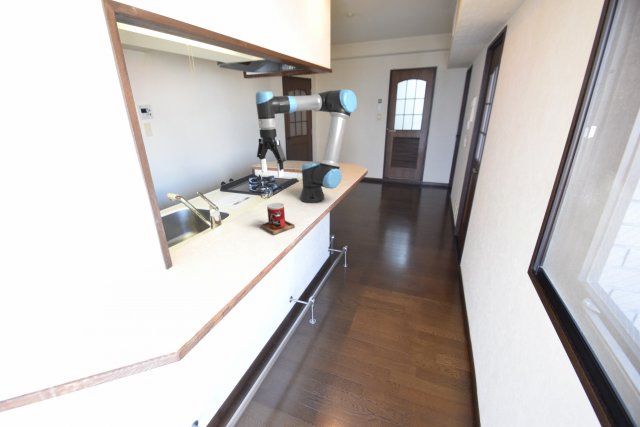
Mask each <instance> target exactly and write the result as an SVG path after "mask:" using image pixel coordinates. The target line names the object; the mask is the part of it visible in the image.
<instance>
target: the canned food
mask: <svg viewBox="0 0 640 427" xmlns="http://www.w3.org/2000/svg"><path fill="white" fill-rule="evenodd" d="M285 214H286V213H285V206H284V203H283V202H273V203H269V204H268V205H267V218H268V219H267V220H268V221H267V222H269V227H270V228H271V229H274V230H278V229H282V228H284V227H285V221H286V217H285V216H286V215H285Z"/></svg>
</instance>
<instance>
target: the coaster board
mask: <svg viewBox="0 0 640 427" xmlns="http://www.w3.org/2000/svg"><path fill="white" fill-rule="evenodd" d="M259 228H260V229H262V230H264V231H265V232H267V233H268V234H270V235H273V236H277V235H279V234H282V233H284V232H287V231H289V230H293V229H295V224H294V223H291V222H290V221H287V220H285V227H284V228H282V229H278V230H274V229H271V228H270V227H269V221H267V222H263V223H260V224H259Z"/></svg>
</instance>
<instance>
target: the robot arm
mask: <svg viewBox="0 0 640 427" xmlns="http://www.w3.org/2000/svg"><path fill="white" fill-rule="evenodd" d="M357 100H358V99H357V96H356V94H355V93H354V91H353V90H351V89H346V88H345V89H344V88H343V89H336V90H335V89H334V90H327V91H322V92H315V93H313V94H311V95H277V96H275V95H274V94H273V91H270V90H269V91H267V90H266V91H263V90H262V91H257V92H256V93H255V104H256V114H257V120H258V127H259V137H260V138H258V147H257V152H256V157H257V158H259V161H260V167H261V168H260V169H261V173H262V174H264V173H267V172H268V167H267V166H268V165H267V159H266V155H267V153H268V150H269V151H271V152H272V155H274V158H275V159H276V166H277V168H276V170H277V176H278V178H281V177H284V176H285V173H284V162H286V161H287V159H286V156H285V152H284V150H283V148H282V145H281V140H279V139H277V140H276V138H277V136H278V135H277V129H276V127H277V124H276V115H279V114H291V113H293V114H294V113H295V112H302V111H314V112H326V113H328V114H329V115H330V123H329V128H328V134H327V138H326V143H325V148H324V153H323V154H324V155H323V157H322V158H323V160H321V161H319V162H318V161H317V162H308V163H303V164H302V167H301V175H302V176H301V177H302V189H301V190H302V191H301V192H300V193H301V194H300V196H299V197H300V201H301V202H303V203H309V204H316V203H321V202H323V201H324V200H325V194H324V191H323V188H325V189H332V190H333V189H335V188H337V187H338V186H339V185H340V184H341V182H342V178H343V174H342V171H341V170H340V168H341V167H340V164H339V159H340V154H341V149H342V143H343V141H344V140H343V139H344V135H345V129H346V124H347V121H348V120H349V119H350V118H351V114H353V113H354V112H355V111H356V109H357V106H358V101H357Z"/></svg>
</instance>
